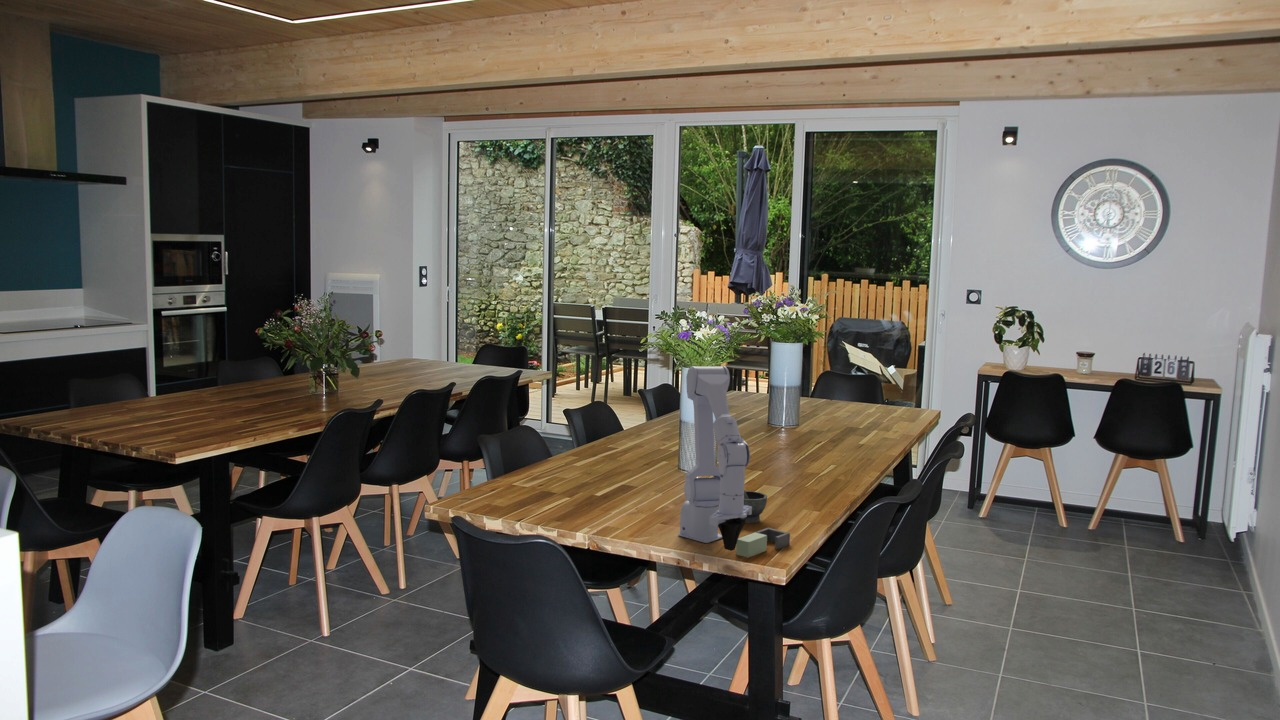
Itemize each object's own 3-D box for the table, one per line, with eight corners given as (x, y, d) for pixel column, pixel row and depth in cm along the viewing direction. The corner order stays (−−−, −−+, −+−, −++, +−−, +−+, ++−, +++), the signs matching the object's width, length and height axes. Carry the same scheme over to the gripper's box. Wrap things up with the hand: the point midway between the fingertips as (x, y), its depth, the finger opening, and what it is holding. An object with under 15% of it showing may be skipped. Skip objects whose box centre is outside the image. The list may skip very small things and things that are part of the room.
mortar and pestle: (771, 519, 260) (773, 476, 258) (757, 526, 252) (759, 483, 251) (735, 512, 266) (737, 470, 264) (720, 519, 258) (721, 476, 256)
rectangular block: (754, 547, 234) (755, 532, 234) (766, 551, 232) (767, 535, 232) (736, 555, 228) (736, 539, 228) (747, 558, 226) (748, 542, 226)
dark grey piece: (755, 543, 237) (755, 531, 237) (767, 538, 241) (767, 527, 241) (777, 549, 233) (778, 537, 233) (789, 544, 237) (790, 533, 237)
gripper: (727, 501, 213) (725, 559, 215) (763, 491, 224) (760, 546, 225) (702, 495, 218) (700, 552, 219) (738, 485, 229) (736, 540, 230)
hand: (729, 549), depth 223 cm, fingers closed
